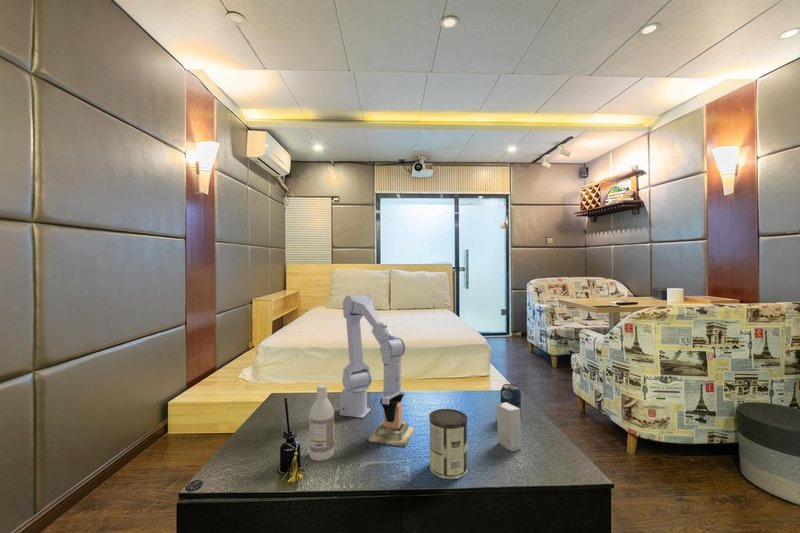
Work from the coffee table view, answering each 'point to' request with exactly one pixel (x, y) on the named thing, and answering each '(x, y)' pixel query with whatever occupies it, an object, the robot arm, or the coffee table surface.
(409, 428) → the socket stand
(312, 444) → the bath foam
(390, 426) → the keyed peg
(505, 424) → the skincare box
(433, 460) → the coffee can
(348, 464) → the coffee table surface
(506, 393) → the soda can
